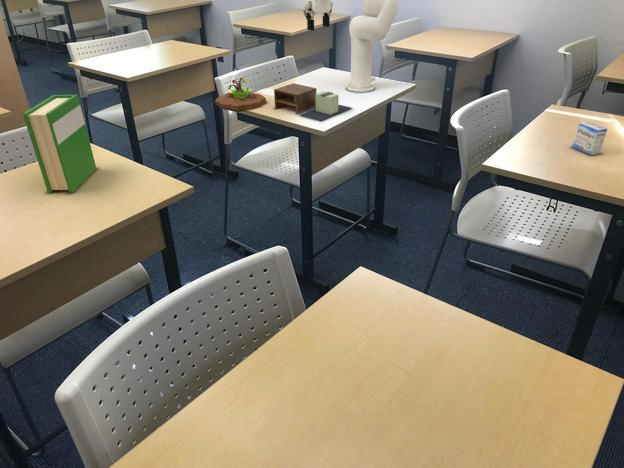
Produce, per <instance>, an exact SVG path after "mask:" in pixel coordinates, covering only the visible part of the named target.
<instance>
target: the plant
mask: <svg viewBox="0 0 624 468" xmlns="http://www.w3.org/2000/svg"><path fill="white" fill-rule="evenodd" d="M231 83H232V84H229V85H228V86H227V89H228V90H229V91H230V92H226V93H224V94H223V95H220V96H218V97H216V99H215V100H214V104H215V106H216V107H219V108H220V109H223V110H230V111H235V112H240V111H248V110H252V109H256V108H259V107H261V106H262V105H264V104H267V98H266V96H264V95H262V94H261V93H255V92H252V89H253V88H249V89H247V87H246V86H242V83H243V84H244V83H246V79H245V78H244V77H240V78H239V79H238V81H237V80H236V79H233V80H231ZM232 87H234V89H233V88H232Z"/></svg>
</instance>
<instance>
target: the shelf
mask: <svg viewBox="0 0 624 468" xmlns="http://www.w3.org/2000/svg"><path fill="white" fill-rule="evenodd" d="M273 93H274V95H273V97H274V98H273V99H274V109H280V108H283V107H285V106H291V107H295V108H296V111H295V112H296V115H301V114H303V113H306V112H308V111H311V110H314V109H316V99H315V94H317V88H316V87H312V86H308V85H303V84H298V83H289V84H287V85H284V86H281V87H278V88H274V89H273Z"/></svg>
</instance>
